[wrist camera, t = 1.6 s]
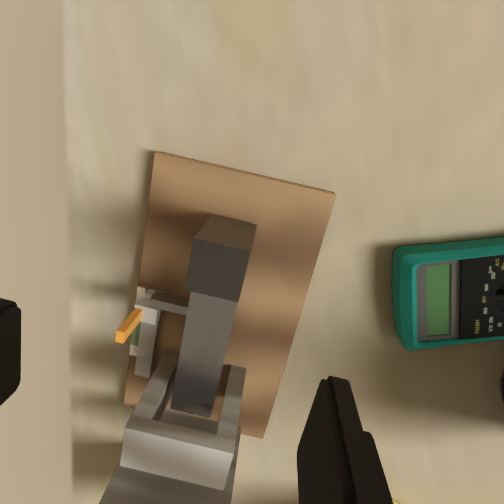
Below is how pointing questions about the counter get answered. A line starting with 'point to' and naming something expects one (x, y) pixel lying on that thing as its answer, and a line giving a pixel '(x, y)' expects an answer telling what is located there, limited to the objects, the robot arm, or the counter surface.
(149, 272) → the base
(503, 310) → the digital multimeter
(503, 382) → the storage jar
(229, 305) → the plunger
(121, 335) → the needle
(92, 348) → the counter surface
